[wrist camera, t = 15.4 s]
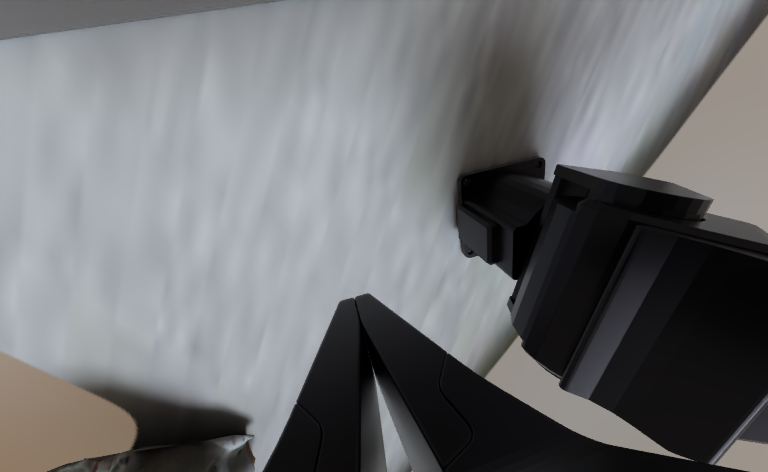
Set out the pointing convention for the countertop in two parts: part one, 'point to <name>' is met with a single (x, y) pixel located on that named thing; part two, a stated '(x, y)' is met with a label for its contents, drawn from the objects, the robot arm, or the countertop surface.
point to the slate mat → (95, 13)
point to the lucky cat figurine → (175, 458)
